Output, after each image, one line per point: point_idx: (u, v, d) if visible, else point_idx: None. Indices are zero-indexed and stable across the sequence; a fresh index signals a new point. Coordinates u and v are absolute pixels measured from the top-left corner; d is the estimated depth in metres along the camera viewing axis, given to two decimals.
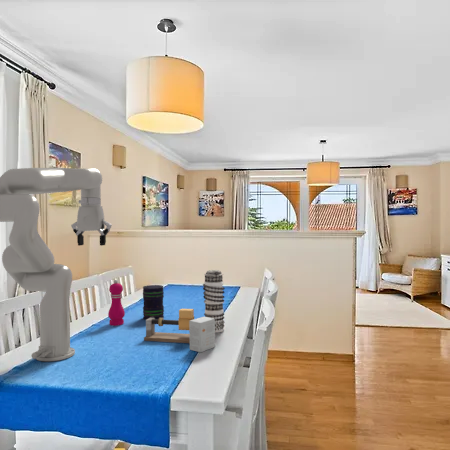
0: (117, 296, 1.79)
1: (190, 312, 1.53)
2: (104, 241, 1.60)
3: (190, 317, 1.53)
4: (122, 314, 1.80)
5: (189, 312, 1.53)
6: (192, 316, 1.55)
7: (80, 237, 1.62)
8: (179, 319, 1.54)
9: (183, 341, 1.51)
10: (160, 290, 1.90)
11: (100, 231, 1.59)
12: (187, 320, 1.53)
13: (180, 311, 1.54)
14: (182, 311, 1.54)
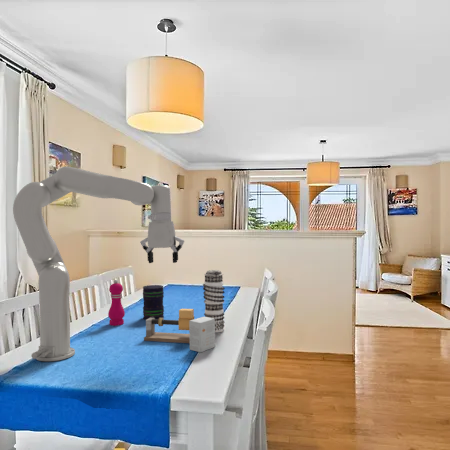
0: (117, 296, 1.79)
1: (190, 312, 1.53)
2: (177, 258, 1.52)
3: (190, 317, 1.53)
4: (122, 314, 1.80)
5: (189, 312, 1.53)
6: (192, 316, 1.55)
7: (150, 254, 1.54)
8: (179, 319, 1.54)
9: (183, 341, 1.51)
10: (160, 290, 1.90)
11: (173, 248, 1.51)
12: (187, 320, 1.53)
13: (180, 311, 1.54)
14: (182, 311, 1.54)
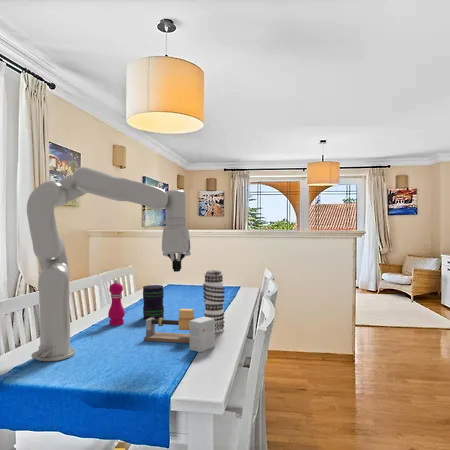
0: (117, 296, 1.79)
1: (190, 312, 1.53)
2: (180, 267, 1.52)
3: (190, 317, 1.53)
4: (122, 314, 1.80)
5: (189, 312, 1.53)
6: (192, 316, 1.55)
7: None
8: (179, 319, 1.54)
9: (183, 341, 1.51)
10: (160, 290, 1.90)
11: (179, 256, 1.50)
12: (187, 320, 1.53)
13: (180, 311, 1.54)
14: (182, 311, 1.54)
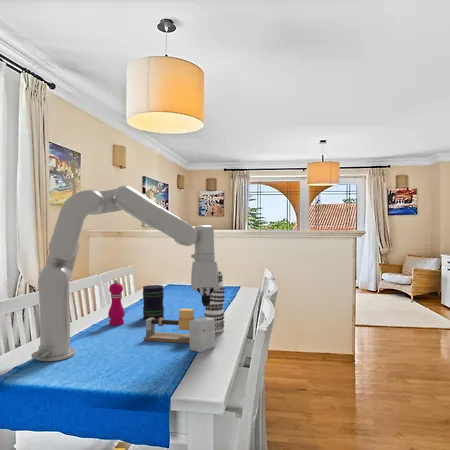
0: (117, 296, 1.79)
1: (190, 312, 1.53)
2: (209, 301, 1.53)
3: (190, 317, 1.53)
4: (122, 314, 1.80)
5: (189, 312, 1.53)
6: (192, 316, 1.55)
7: None
8: (179, 319, 1.54)
9: (183, 341, 1.51)
10: (160, 290, 1.90)
11: (208, 290, 1.52)
12: (187, 320, 1.53)
13: (180, 311, 1.54)
14: (182, 311, 1.54)
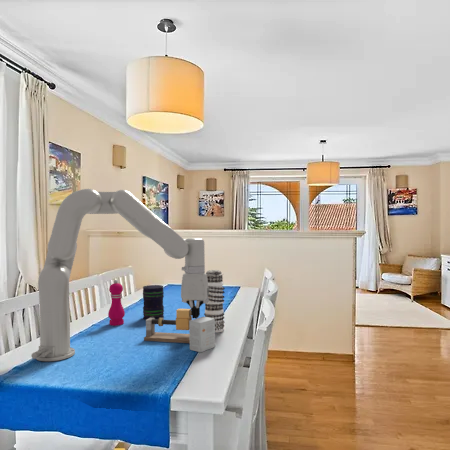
0: (117, 296, 1.79)
1: (187, 312, 1.54)
2: (198, 314, 1.54)
3: (187, 317, 1.54)
4: (122, 314, 1.80)
5: (186, 312, 1.54)
6: (190, 316, 1.55)
7: (194, 309, 1.54)
8: (176, 319, 1.54)
9: (183, 341, 1.51)
10: (160, 290, 1.90)
11: (197, 303, 1.53)
12: (184, 320, 1.53)
13: (177, 311, 1.55)
14: (179, 311, 1.54)
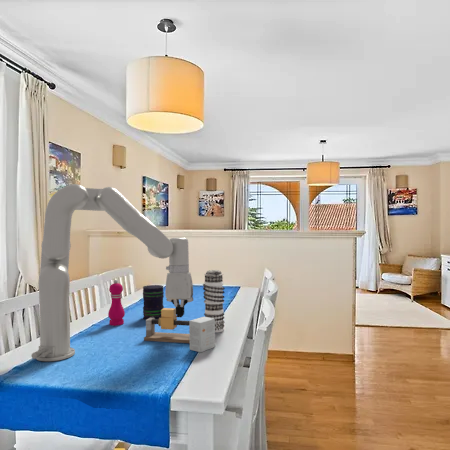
0: (117, 296, 1.79)
1: (172, 311, 1.55)
2: (183, 312, 1.55)
3: (172, 316, 1.55)
4: (122, 314, 1.80)
5: (171, 311, 1.55)
6: (175, 316, 1.57)
7: None
8: (161, 318, 1.55)
9: (183, 341, 1.51)
10: (160, 290, 1.90)
11: (182, 302, 1.54)
12: (169, 319, 1.55)
13: (162, 310, 1.56)
14: (164, 310, 1.56)
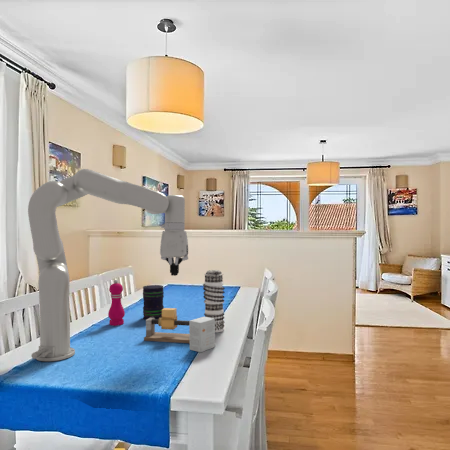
0: (117, 296, 1.79)
1: (173, 311, 1.55)
2: (177, 271, 1.54)
3: (173, 316, 1.55)
4: (122, 314, 1.80)
5: (172, 311, 1.55)
6: (175, 316, 1.57)
7: None
8: (162, 318, 1.55)
9: (183, 341, 1.51)
10: (160, 290, 1.90)
11: (176, 260, 1.53)
12: (170, 319, 1.55)
13: (163, 310, 1.56)
14: (165, 310, 1.56)
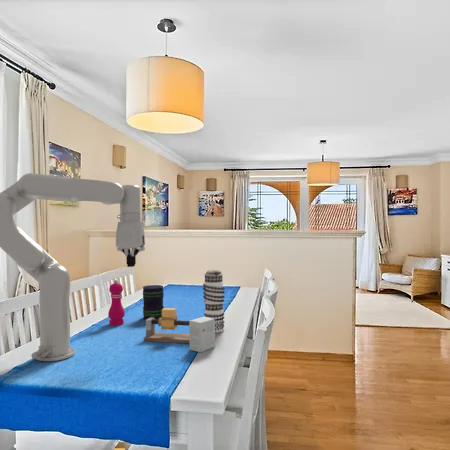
0: (117, 296, 1.79)
1: (173, 311, 1.55)
2: (134, 262, 1.51)
3: (173, 316, 1.55)
4: (122, 314, 1.80)
5: (172, 311, 1.55)
6: (175, 316, 1.57)
7: None
8: (162, 318, 1.55)
9: (183, 341, 1.51)
10: (160, 290, 1.90)
11: (132, 251, 1.50)
12: (170, 319, 1.55)
13: (163, 310, 1.56)
14: (165, 310, 1.56)
